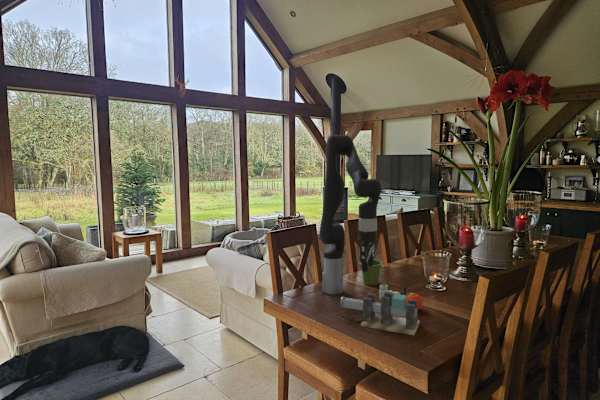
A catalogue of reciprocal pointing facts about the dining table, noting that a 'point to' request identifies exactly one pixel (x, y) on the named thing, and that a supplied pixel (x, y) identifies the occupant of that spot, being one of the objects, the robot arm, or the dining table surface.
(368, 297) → the frame
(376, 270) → the plant pot
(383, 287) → the valve
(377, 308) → the shaft
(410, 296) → the clementine
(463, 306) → the dining table surface
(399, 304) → the spacer
